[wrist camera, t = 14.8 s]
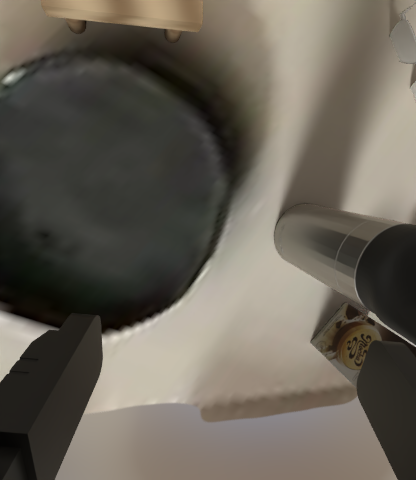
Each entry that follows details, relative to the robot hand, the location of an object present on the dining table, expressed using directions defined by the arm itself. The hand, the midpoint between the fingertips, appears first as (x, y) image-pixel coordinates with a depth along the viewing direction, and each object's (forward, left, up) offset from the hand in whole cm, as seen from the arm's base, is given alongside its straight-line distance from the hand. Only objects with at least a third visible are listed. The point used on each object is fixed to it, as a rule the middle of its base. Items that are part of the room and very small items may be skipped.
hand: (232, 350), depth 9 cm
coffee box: (-30, +21, -33) cm, 49 cm away
